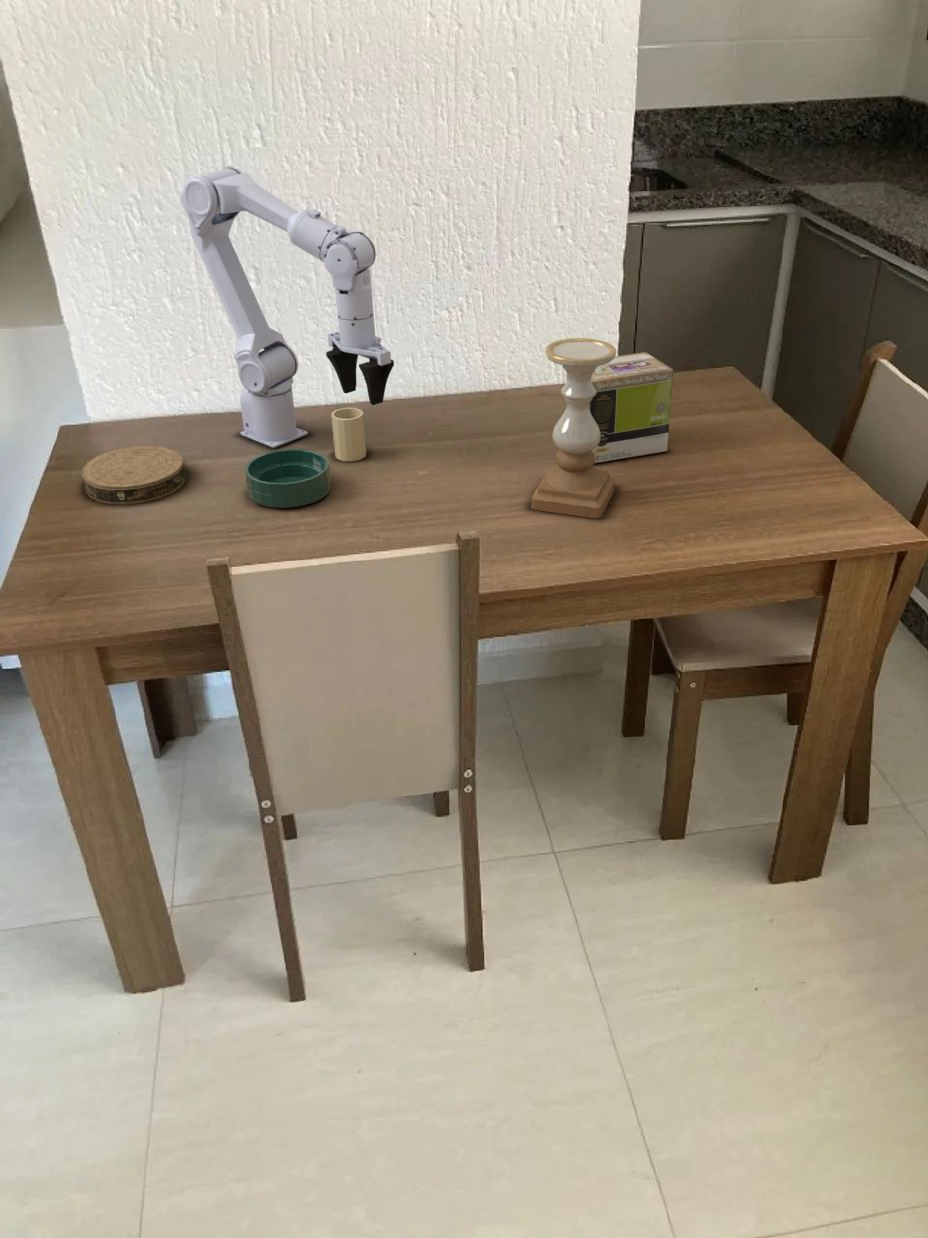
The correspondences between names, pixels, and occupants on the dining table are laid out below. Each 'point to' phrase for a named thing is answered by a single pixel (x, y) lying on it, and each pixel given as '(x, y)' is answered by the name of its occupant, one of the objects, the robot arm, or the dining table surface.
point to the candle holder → (576, 435)
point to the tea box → (631, 406)
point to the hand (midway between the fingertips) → (363, 397)
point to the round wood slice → (134, 475)
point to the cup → (349, 434)
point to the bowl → (288, 478)
